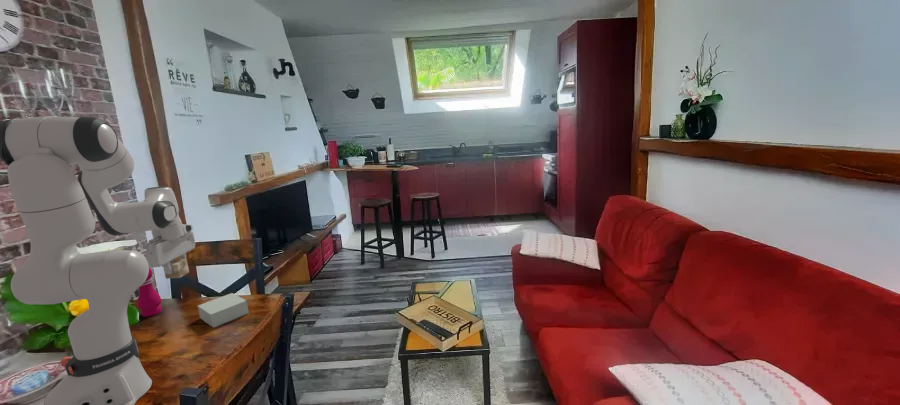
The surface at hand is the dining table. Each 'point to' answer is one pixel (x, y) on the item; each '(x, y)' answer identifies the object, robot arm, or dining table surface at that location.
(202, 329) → the dining table surface
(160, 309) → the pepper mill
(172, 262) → the birch cube
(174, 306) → the dining table surface
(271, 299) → the dining table surface
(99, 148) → the robot arm
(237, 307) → the base block
